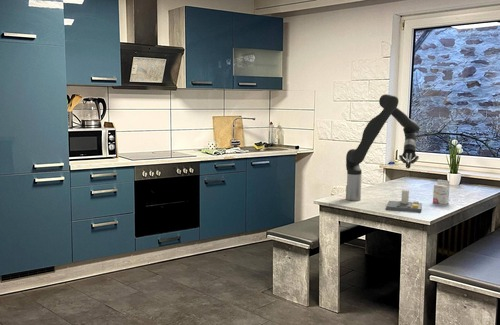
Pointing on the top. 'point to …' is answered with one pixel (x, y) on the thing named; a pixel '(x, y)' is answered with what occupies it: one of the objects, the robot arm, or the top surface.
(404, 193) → the switch tab
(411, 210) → the switch panel
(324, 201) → the top surface
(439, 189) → the ink cartridge box
